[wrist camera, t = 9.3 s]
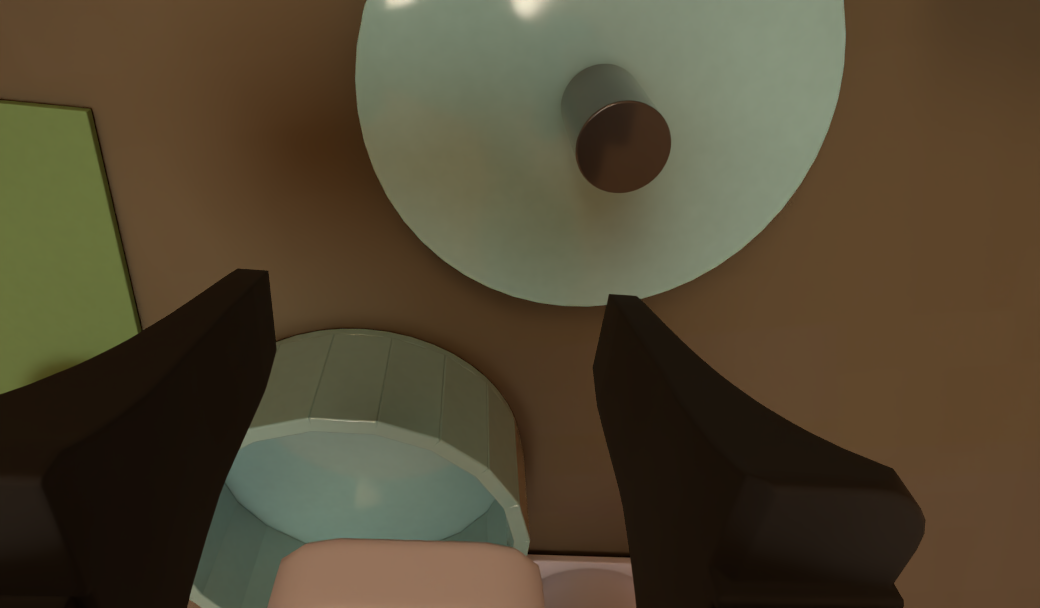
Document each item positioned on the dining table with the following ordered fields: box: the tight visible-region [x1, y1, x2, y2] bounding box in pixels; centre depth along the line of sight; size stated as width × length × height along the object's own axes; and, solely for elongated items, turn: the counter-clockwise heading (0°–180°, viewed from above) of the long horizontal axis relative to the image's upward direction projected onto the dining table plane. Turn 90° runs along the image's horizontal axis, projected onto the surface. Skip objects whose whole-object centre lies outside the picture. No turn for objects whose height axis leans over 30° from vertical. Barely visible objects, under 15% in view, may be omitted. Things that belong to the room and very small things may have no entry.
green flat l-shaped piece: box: [0, 100, 142, 394], centre depth 25 cm, size 22×11×1 cm, turn 173°
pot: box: [189, 329, 530, 608], centre depth 26 cm, size 13×13×5 cm
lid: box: [355, 0, 846, 307], centre depth 19 cm, size 14×14×5 cm
